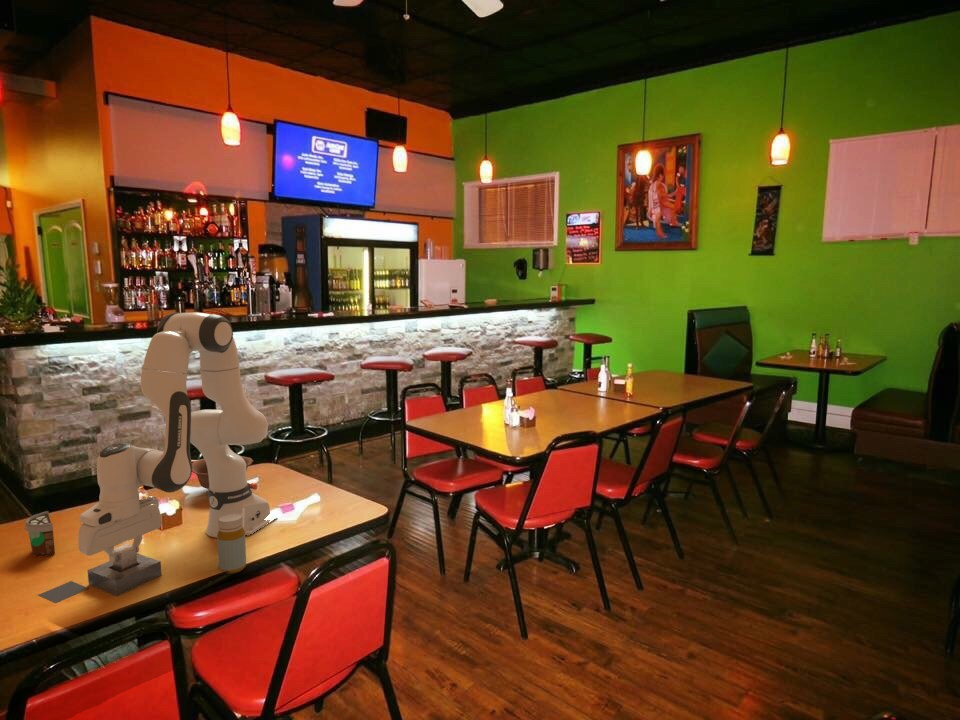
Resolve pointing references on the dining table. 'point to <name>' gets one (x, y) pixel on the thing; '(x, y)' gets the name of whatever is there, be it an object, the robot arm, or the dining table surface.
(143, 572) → the socket block
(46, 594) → the rubber pad
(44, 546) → the food container
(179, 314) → the robot arm
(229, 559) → the bottle
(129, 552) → the steel plug
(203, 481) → the bowl
